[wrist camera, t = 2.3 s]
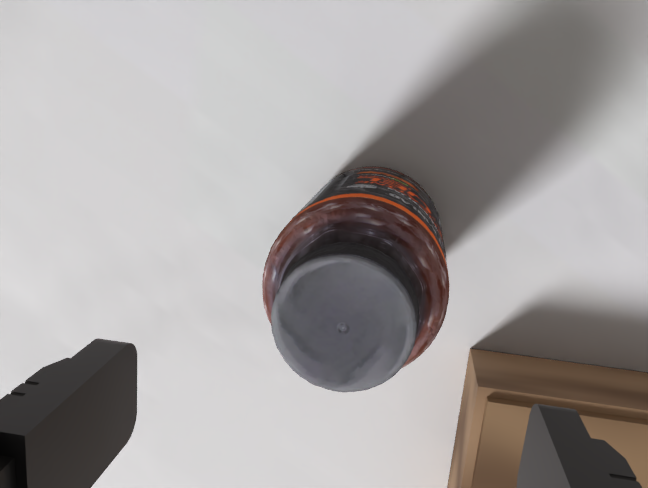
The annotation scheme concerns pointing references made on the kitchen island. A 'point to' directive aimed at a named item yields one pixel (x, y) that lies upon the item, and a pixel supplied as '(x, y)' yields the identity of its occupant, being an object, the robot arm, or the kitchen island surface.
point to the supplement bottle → (358, 280)
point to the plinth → (547, 389)
